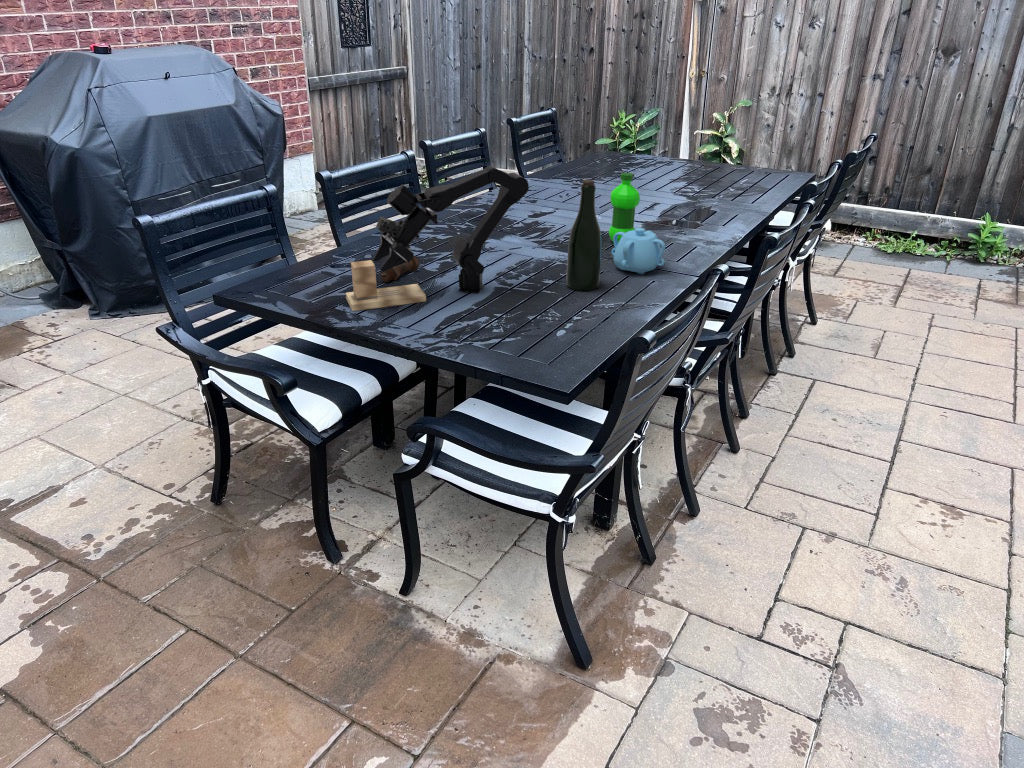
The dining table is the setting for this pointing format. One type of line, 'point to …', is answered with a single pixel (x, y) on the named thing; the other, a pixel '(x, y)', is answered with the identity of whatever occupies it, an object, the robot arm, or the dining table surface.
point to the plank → (388, 297)
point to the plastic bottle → (623, 206)
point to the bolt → (400, 270)
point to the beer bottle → (585, 244)
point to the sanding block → (364, 280)
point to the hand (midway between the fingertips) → (377, 265)
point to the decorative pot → (638, 251)
